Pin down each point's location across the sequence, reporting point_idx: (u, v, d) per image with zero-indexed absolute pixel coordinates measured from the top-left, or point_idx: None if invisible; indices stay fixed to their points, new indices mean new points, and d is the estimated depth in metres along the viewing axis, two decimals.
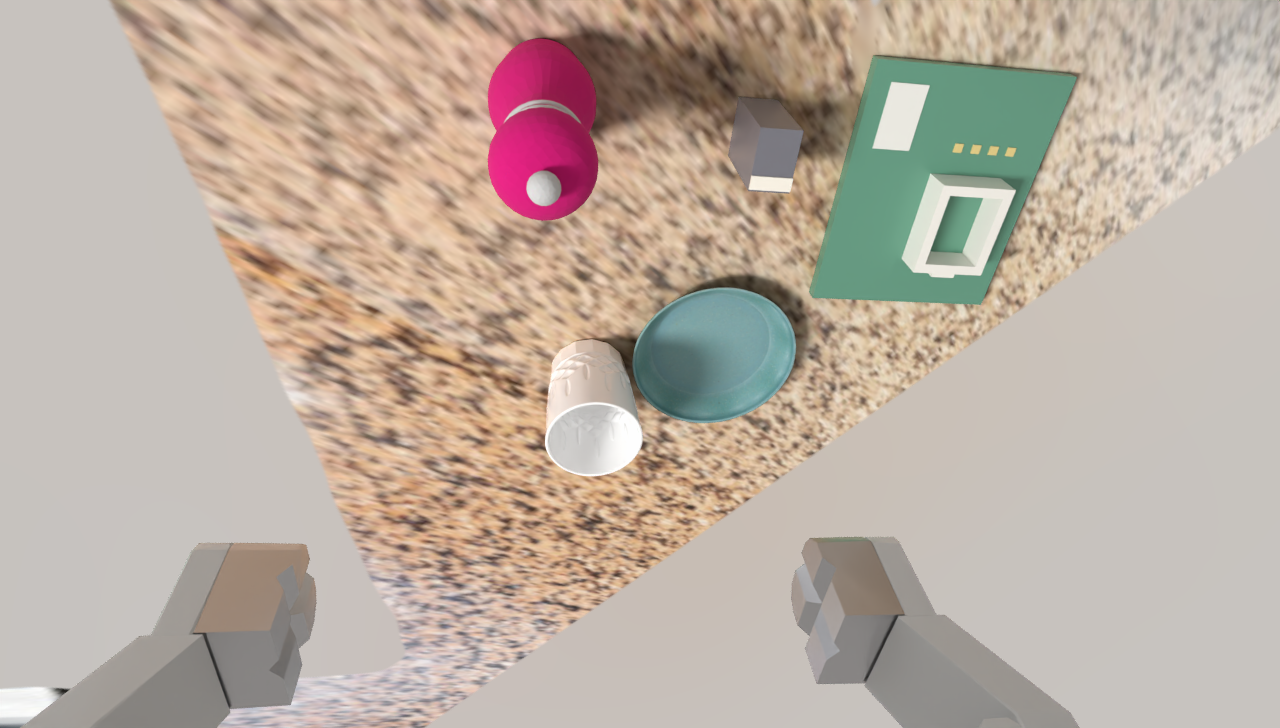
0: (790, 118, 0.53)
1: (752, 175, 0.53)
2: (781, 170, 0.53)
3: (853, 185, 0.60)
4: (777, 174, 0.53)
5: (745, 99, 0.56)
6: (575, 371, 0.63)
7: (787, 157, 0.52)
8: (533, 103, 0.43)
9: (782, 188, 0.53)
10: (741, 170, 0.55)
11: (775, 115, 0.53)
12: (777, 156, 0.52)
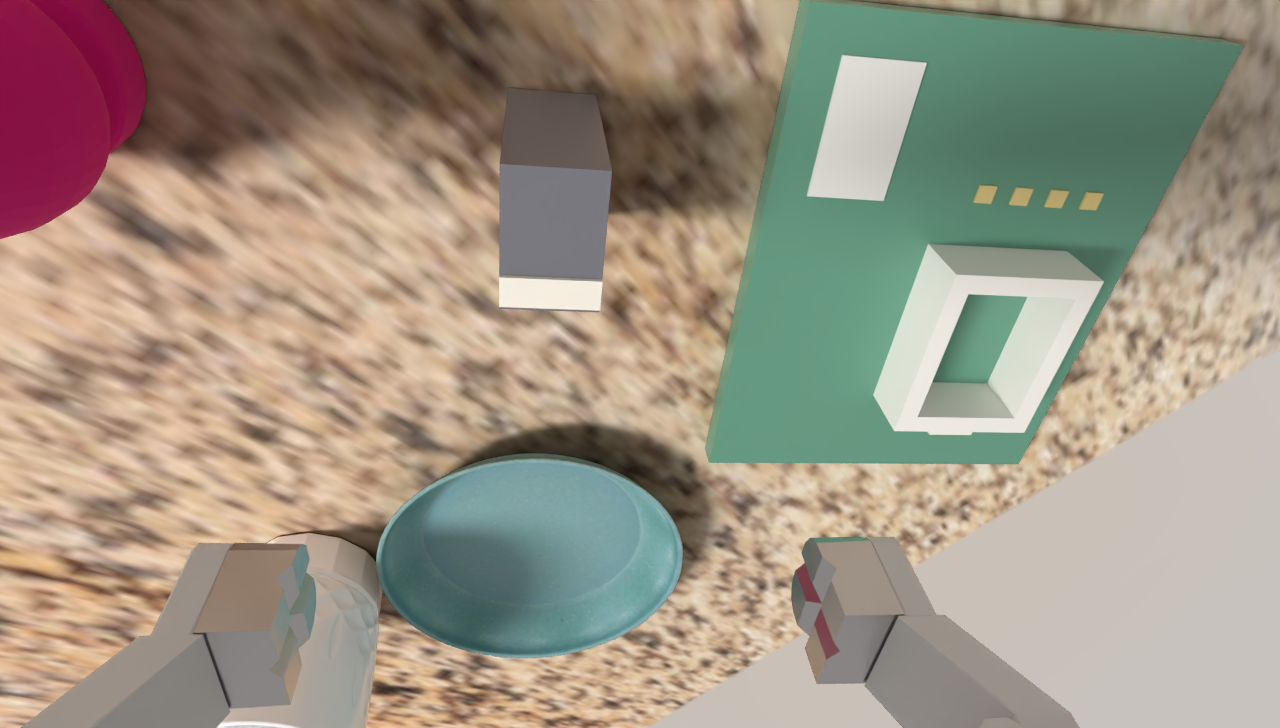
0: (598, 138, 0.23)
1: (502, 275, 0.22)
2: (572, 263, 0.22)
3: (772, 268, 0.30)
4: (563, 272, 0.22)
5: (519, 93, 0.25)
6: None
7: (583, 235, 0.22)
8: None
9: (580, 302, 0.23)
10: None
11: (564, 130, 0.23)
12: (555, 231, 0.21)
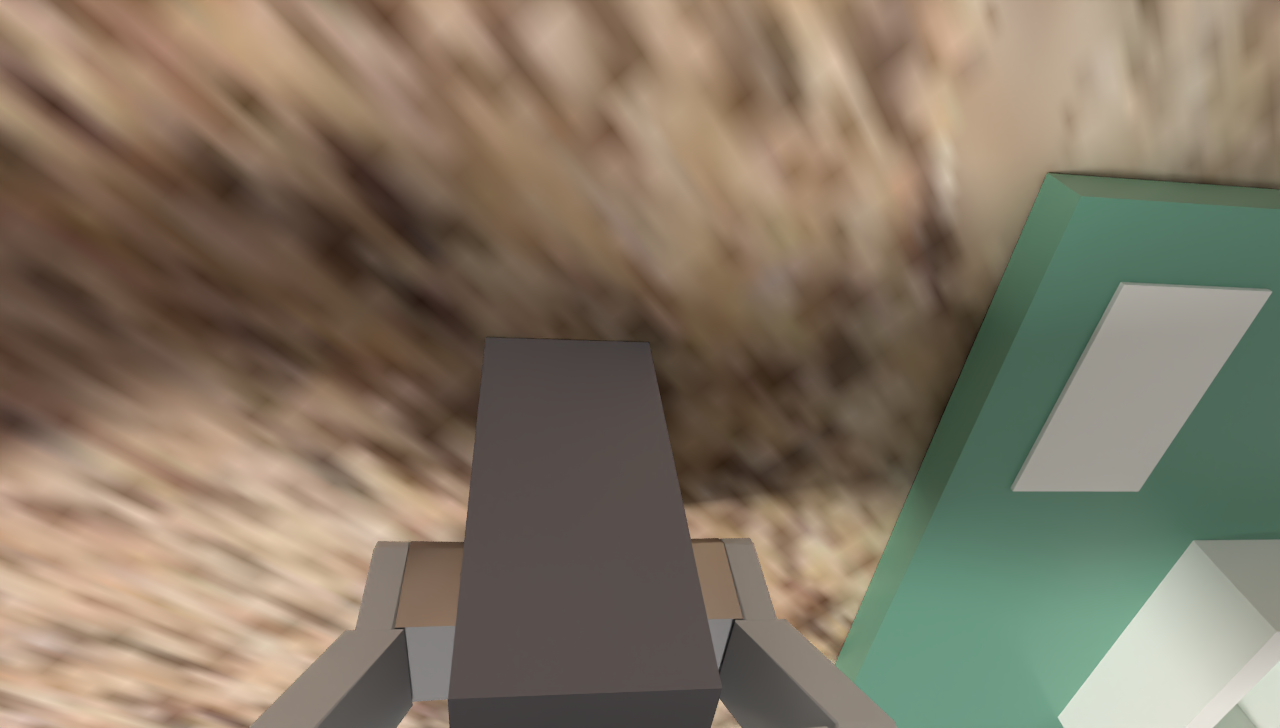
0: (671, 519, 0.11)
1: None
2: None
3: (933, 583, 0.18)
4: None
5: (506, 357, 0.13)
6: None
7: None
8: None
9: None
10: None
11: (599, 494, 0.11)
12: None
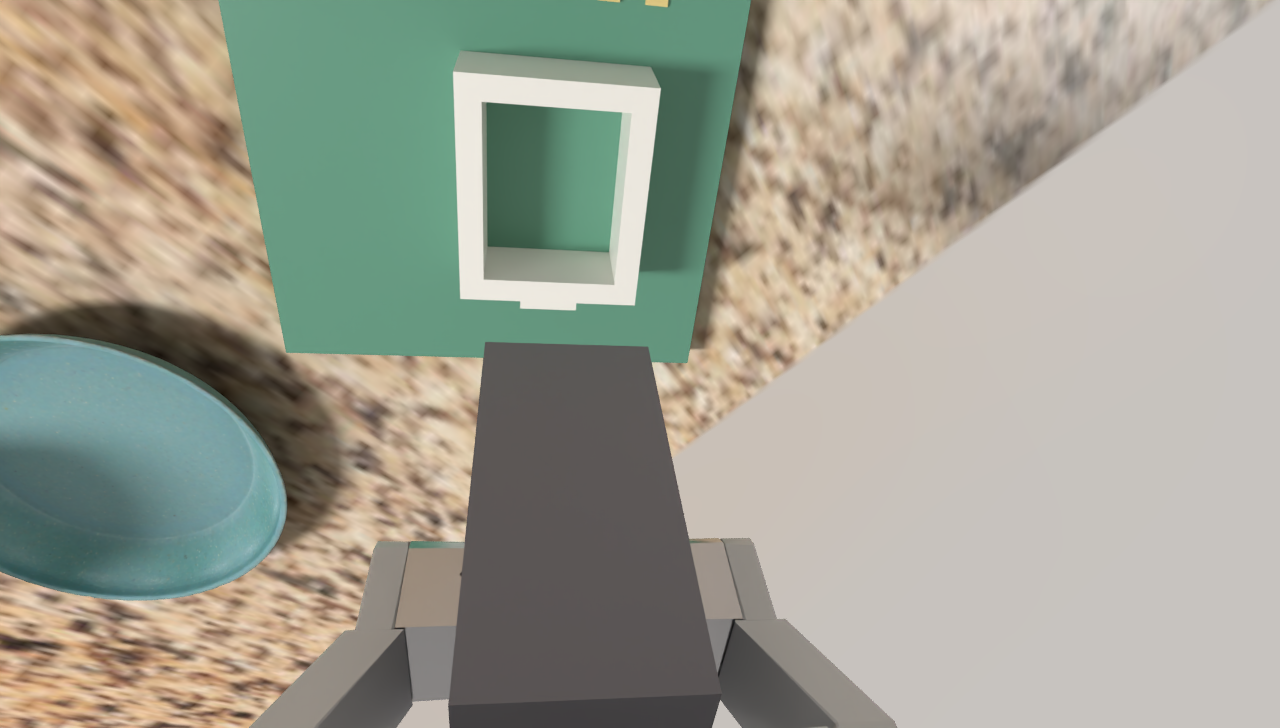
0: (670, 524, 0.11)
1: None
2: None
3: (262, 80, 0.24)
4: None
5: (505, 361, 0.13)
6: None
7: None
8: None
9: None
10: None
11: (599, 500, 0.11)
12: None
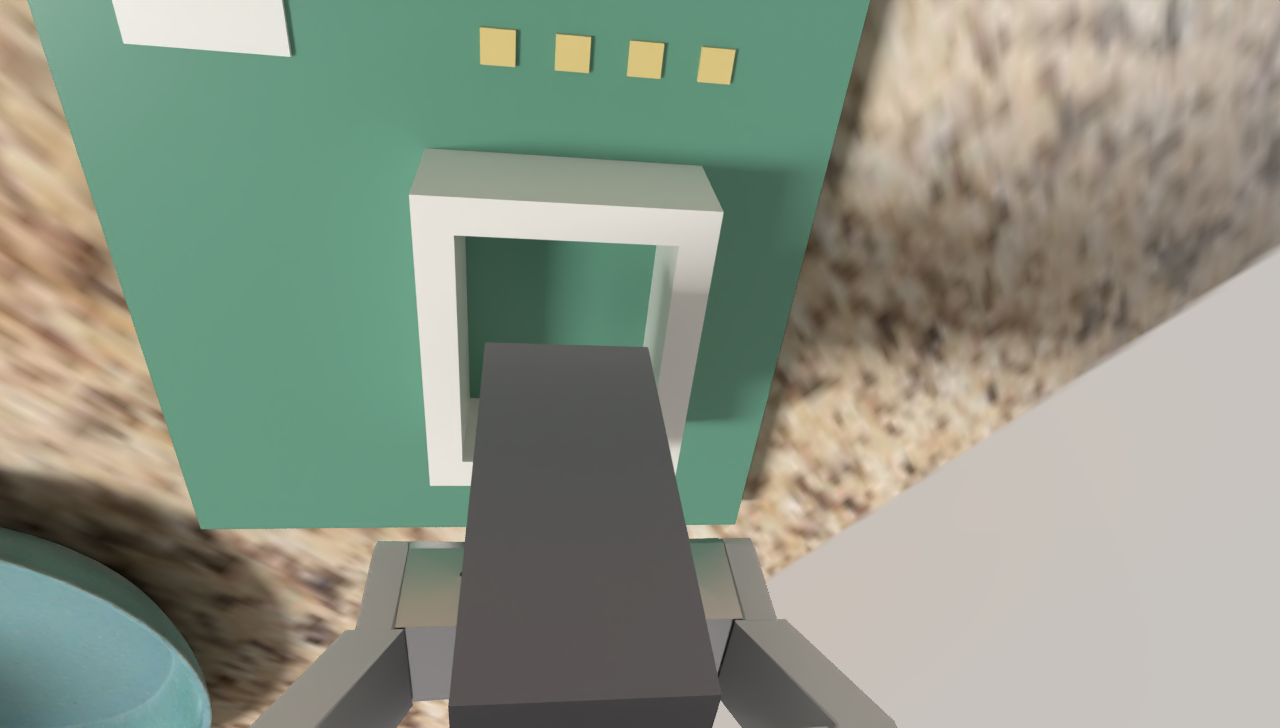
0: (670, 524, 0.11)
1: None
2: None
3: (133, 193, 0.16)
4: None
5: (506, 361, 0.13)
6: None
7: None
8: None
9: None
10: None
11: (599, 500, 0.11)
12: None
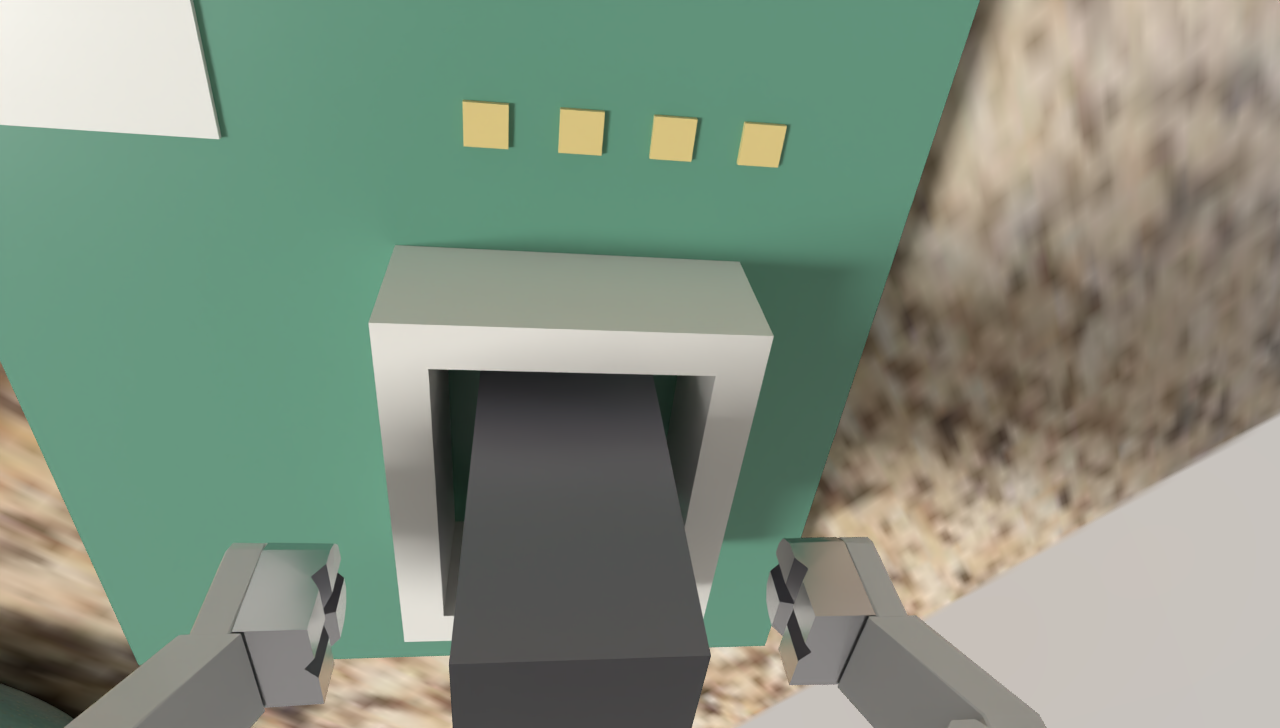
0: (663, 499, 0.11)
1: None
2: None
3: (28, 302, 0.13)
4: None
5: None
6: None
7: None
8: None
9: None
10: None
11: (595, 475, 0.11)
12: None
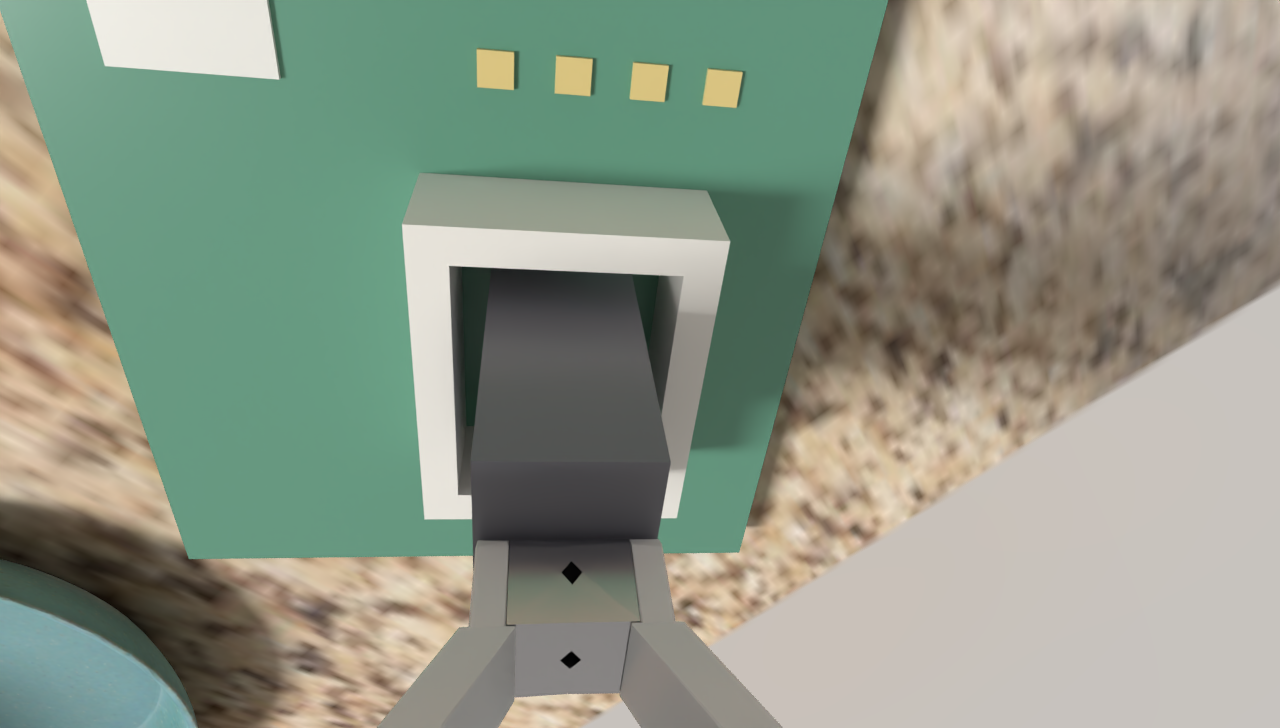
0: (638, 365, 0.14)
1: None
2: None
3: (116, 219, 0.16)
4: None
5: None
6: None
7: None
8: None
9: None
10: None
11: (584, 349, 0.14)
12: None
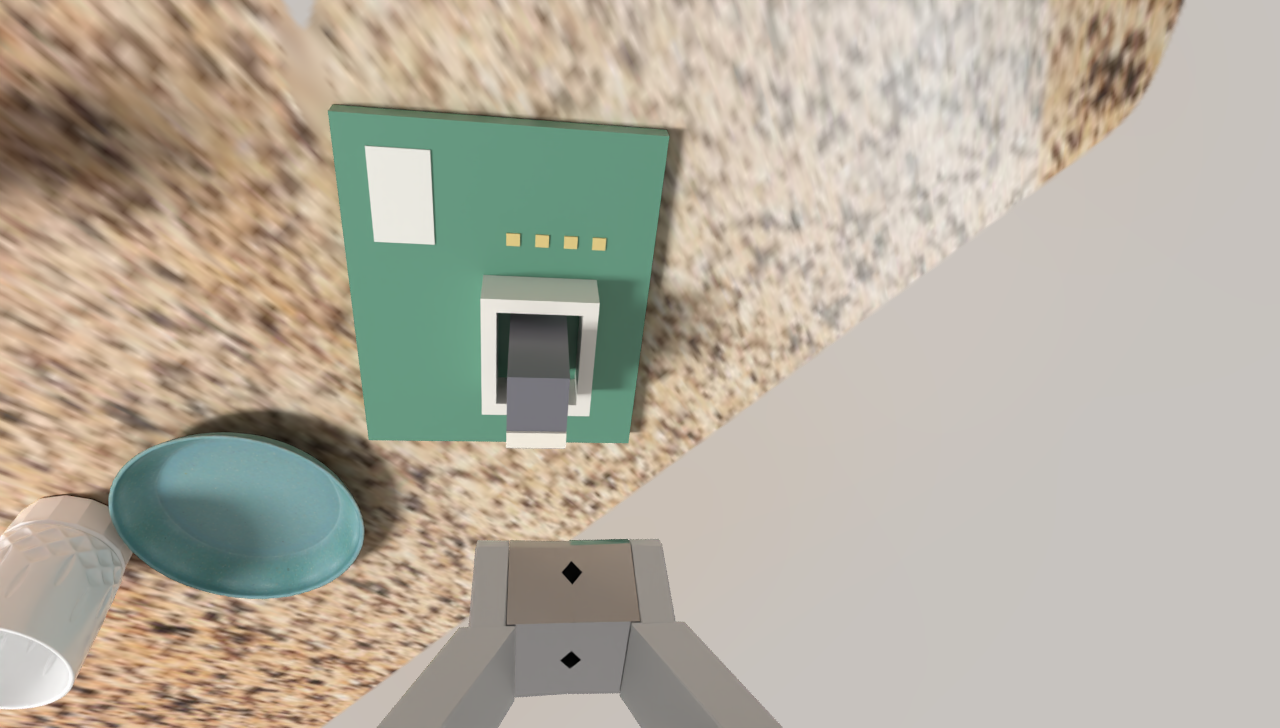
0: (564, 348, 0.39)
1: (507, 431, 0.38)
2: (549, 424, 0.38)
3: (366, 293, 0.40)
4: (543, 429, 0.38)
5: None
6: None
7: (554, 409, 0.37)
8: None
9: (553, 444, 0.39)
10: None
11: (544, 342, 0.39)
12: (538, 408, 0.37)
